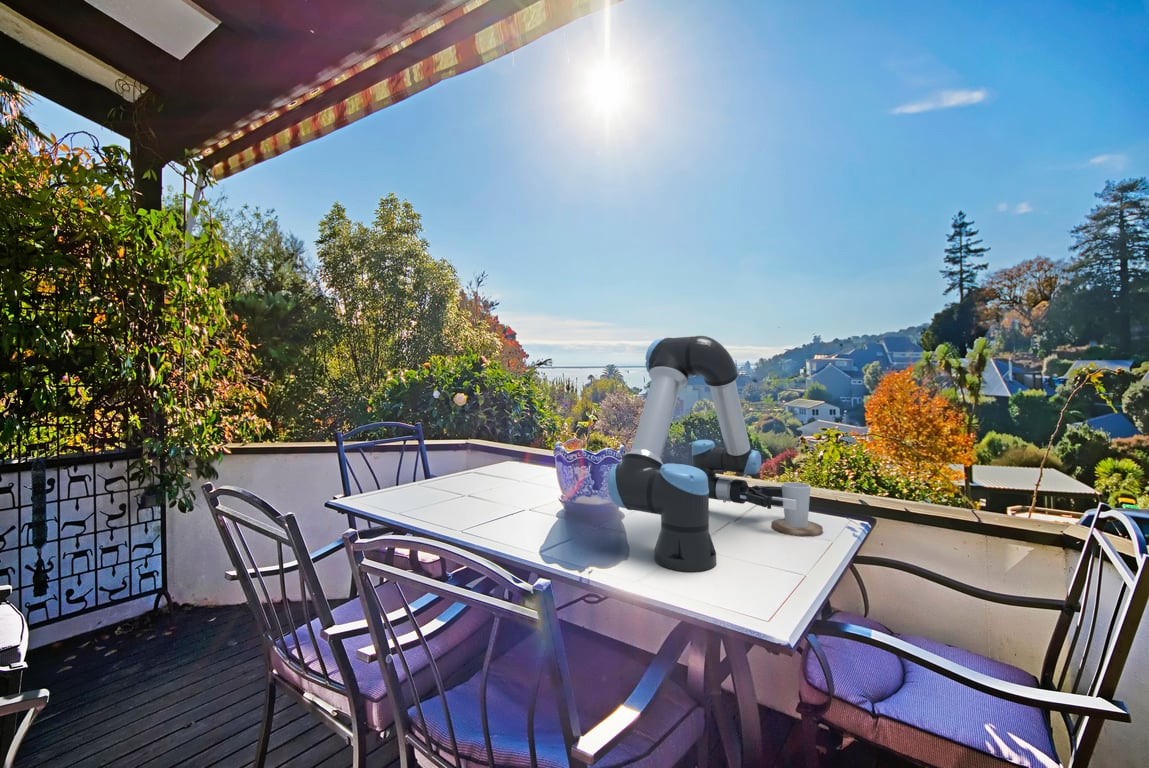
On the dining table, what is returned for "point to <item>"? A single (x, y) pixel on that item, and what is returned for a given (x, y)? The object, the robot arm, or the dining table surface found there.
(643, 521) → the dining table surface
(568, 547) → the dining table surface
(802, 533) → the disc
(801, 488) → the cup
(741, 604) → the dining table surface
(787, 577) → the dining table surface
